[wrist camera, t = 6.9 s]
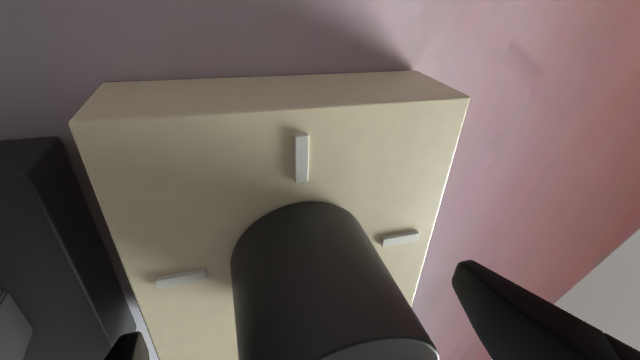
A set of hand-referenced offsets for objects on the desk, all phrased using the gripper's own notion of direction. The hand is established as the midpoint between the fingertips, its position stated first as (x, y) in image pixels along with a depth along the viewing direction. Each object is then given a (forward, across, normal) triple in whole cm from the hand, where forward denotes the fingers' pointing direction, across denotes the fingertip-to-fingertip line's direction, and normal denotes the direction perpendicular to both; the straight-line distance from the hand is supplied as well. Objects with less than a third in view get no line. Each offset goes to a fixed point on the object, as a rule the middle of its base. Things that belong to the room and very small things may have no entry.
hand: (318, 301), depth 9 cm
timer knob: (+2, 0, 0) cm, 2 cm away
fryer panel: (+5, 0, 0) cm, 5 cm away
